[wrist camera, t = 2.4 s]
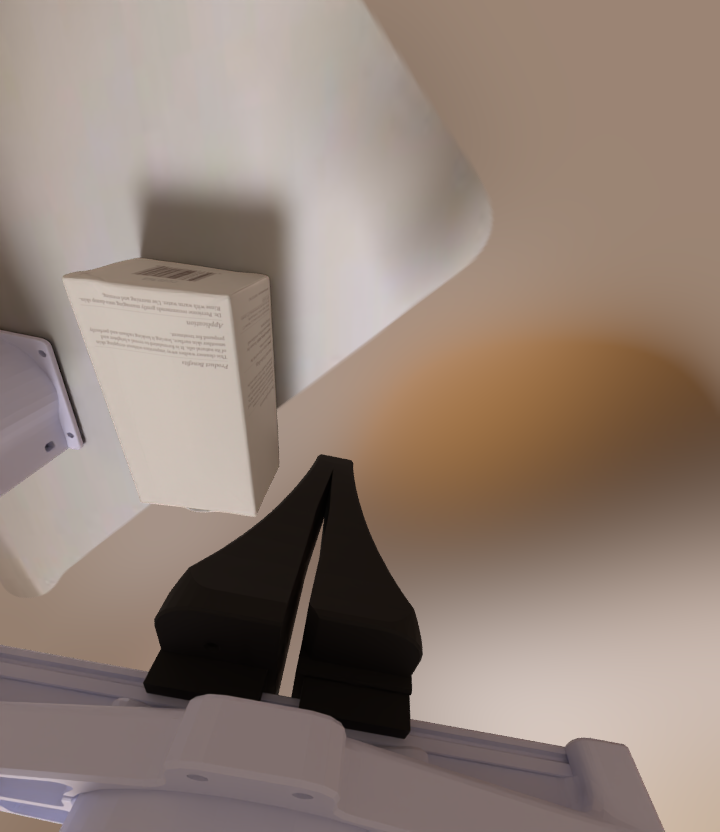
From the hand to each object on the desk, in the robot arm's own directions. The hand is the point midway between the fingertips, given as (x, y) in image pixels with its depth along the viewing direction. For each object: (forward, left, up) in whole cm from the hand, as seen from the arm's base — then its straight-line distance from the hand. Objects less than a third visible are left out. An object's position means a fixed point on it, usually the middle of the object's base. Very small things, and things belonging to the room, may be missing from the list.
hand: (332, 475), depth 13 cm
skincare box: (+5, +10, -7) cm, 13 cm away
